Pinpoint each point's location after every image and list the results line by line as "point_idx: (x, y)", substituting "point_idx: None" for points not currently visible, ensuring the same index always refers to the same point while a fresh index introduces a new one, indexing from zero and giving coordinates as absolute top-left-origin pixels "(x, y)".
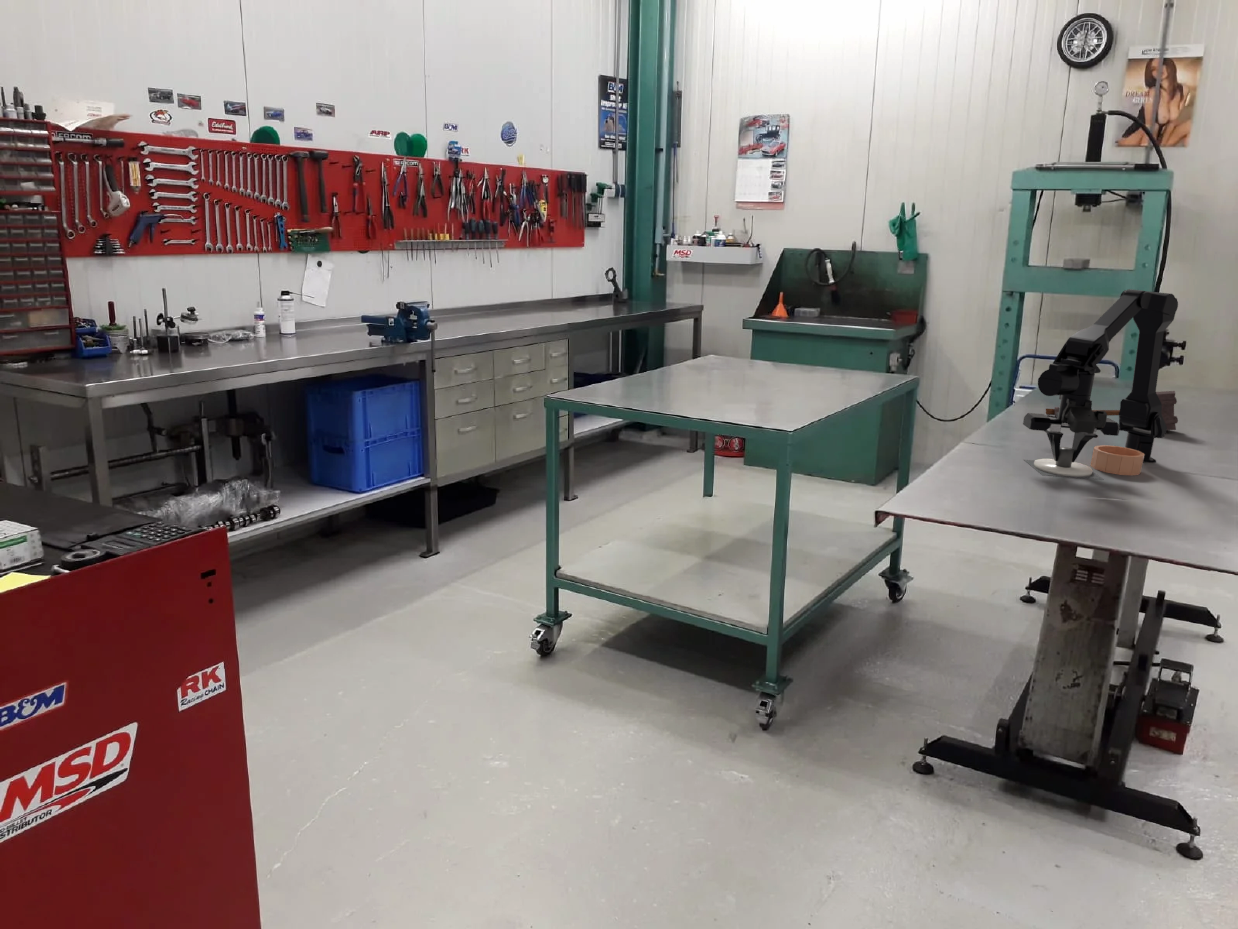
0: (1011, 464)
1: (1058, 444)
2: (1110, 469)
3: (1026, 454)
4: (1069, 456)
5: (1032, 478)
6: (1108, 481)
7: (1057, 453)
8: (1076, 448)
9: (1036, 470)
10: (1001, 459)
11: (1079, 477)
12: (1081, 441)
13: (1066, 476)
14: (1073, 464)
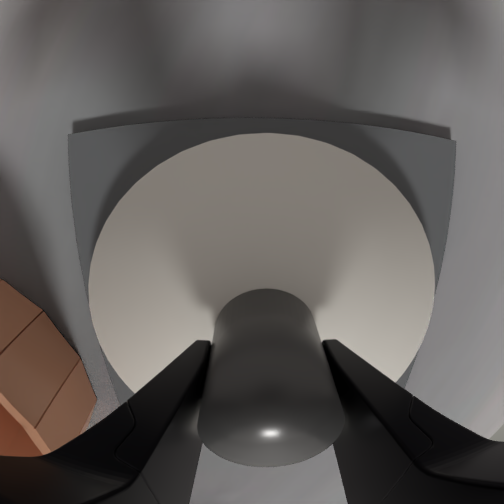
0: (473, 344)
1: (403, 424)
2: (14, 309)
3: (314, 484)
4: (254, 341)
5: (497, 97)
6: (53, 132)
7: (357, 369)
8: (178, 420)
9: (444, 245)
10: (459, 400)
11: (219, 121)
12: (119, 473)
13: (314, 124)
14: None
